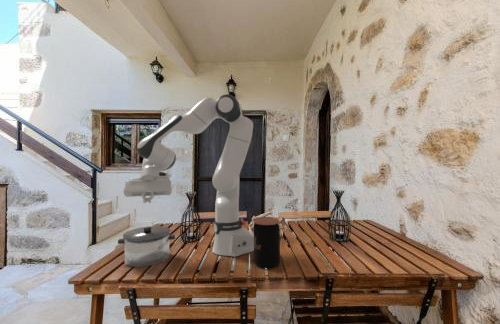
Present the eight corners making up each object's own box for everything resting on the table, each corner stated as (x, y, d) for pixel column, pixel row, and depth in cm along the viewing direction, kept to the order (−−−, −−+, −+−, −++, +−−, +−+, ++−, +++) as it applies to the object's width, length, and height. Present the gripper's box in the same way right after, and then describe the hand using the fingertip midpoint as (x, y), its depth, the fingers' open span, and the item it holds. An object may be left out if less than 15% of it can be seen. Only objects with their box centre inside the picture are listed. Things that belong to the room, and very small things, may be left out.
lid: (129, 230, 115) (129, 223, 115) (171, 227, 120) (171, 220, 120) (117, 244, 96) (117, 235, 96) (168, 239, 101) (168, 231, 101)
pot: (124, 253, 114) (124, 231, 114) (176, 248, 119) (176, 227, 119) (112, 269, 96) (112, 244, 96) (173, 263, 102) (173, 239, 102)
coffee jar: (254, 258, 106) (253, 216, 106) (278, 258, 106) (278, 216, 106) (253, 269, 96) (253, 222, 96) (281, 269, 95) (280, 222, 95)
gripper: (124, 174, 112) (119, 199, 103) (171, 173, 117) (170, 196, 108) (127, 183, 117) (122, 207, 107) (172, 182, 121) (171, 205, 112)
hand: (147, 202), depth 107 cm, fingers closed
